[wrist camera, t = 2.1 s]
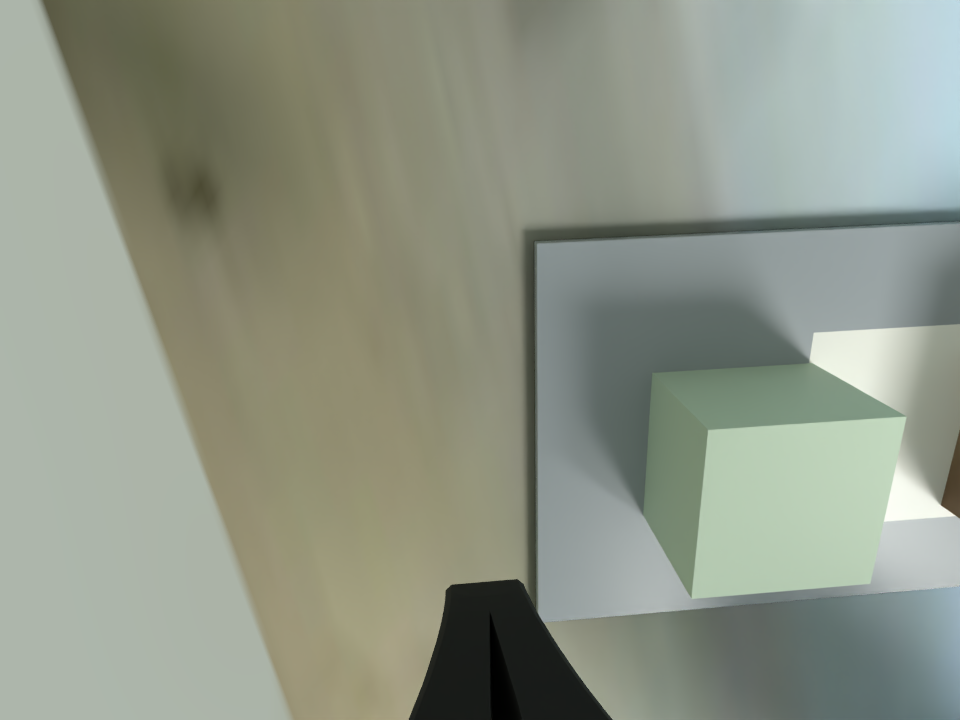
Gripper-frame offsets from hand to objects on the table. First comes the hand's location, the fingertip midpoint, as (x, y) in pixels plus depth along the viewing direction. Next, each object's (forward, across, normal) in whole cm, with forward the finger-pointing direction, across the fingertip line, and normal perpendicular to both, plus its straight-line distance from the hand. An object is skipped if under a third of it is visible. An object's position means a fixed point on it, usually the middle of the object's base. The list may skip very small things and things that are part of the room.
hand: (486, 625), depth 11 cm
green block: (+6, -8, 0) cm, 10 cm away
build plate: (+7, -13, 0) cm, 14 cm away
